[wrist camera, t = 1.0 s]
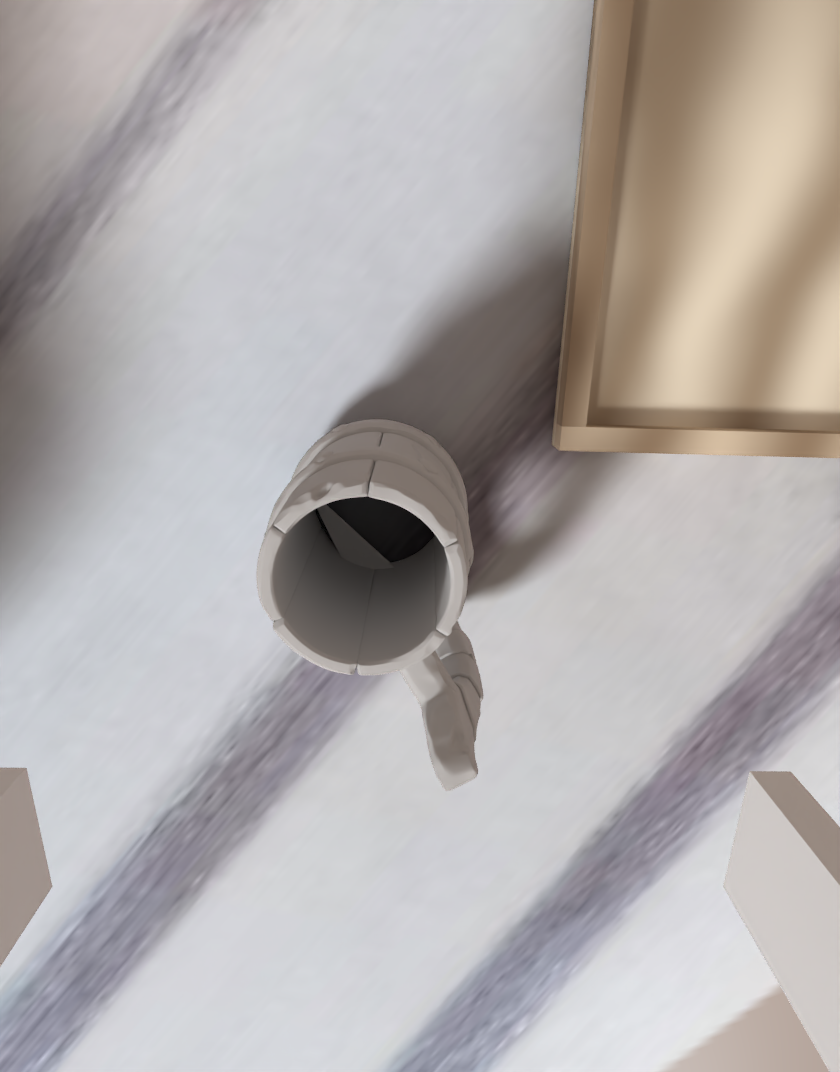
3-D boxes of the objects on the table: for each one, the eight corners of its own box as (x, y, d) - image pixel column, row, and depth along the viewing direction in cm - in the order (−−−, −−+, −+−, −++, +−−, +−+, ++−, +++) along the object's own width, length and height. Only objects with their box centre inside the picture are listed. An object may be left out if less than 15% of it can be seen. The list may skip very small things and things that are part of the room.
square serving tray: (551, 444, 27) (559, 450, 25) (604, -109, 21) (618, -142, 19) (976, 456, 27) (1007, 462, 25) (1148, -86, 21) (1201, -117, 20)
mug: (413, 381, 26) (412, 415, 14) (531, 604, 29) (607, 777, 18) (261, 465, 27) (148, 559, 15) (392, 671, 30) (378, 875, 19)
